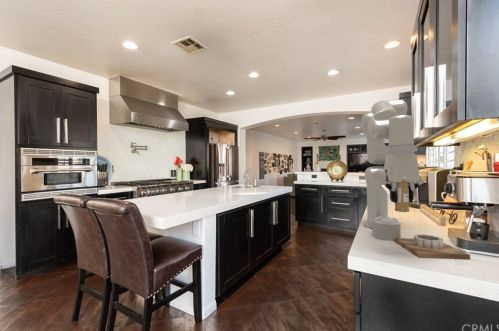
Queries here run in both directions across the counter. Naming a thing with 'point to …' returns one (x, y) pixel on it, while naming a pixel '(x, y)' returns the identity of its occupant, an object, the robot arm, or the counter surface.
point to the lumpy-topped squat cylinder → (385, 228)
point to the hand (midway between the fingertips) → (401, 201)
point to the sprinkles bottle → (402, 196)
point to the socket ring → (428, 241)
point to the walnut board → (431, 250)
